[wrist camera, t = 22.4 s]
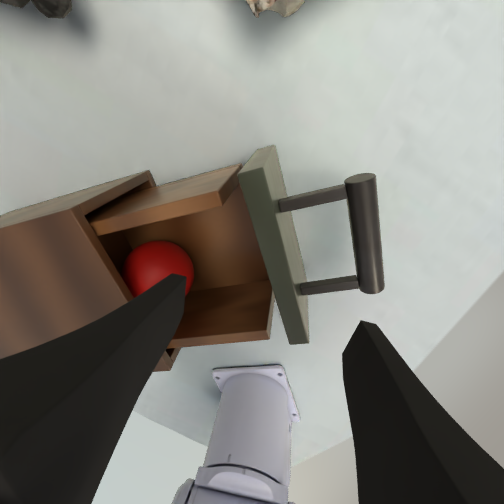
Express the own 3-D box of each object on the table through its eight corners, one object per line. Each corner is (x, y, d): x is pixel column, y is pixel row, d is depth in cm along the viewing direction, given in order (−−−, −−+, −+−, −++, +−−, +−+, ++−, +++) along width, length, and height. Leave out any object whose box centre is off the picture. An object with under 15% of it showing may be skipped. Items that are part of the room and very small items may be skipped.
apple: (186, 323, 17) (133, 324, 20) (216, 271, 21) (167, 278, 23) (138, 269, 15) (85, 279, 18) (181, 220, 18) (130, 235, 21)
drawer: (354, 121, 16) (384, 134, 10) (370, 271, 20) (396, 336, 15) (103, 193, 20) (31, 229, 15) (162, 301, 25) (123, 358, 20)
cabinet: (149, 169, 20) (69, 208, 13) (206, 295, 25) (170, 371, 18) (10, 211, 24) (-109, 258, 17) (84, 312, 29) (17, 380, 22)
